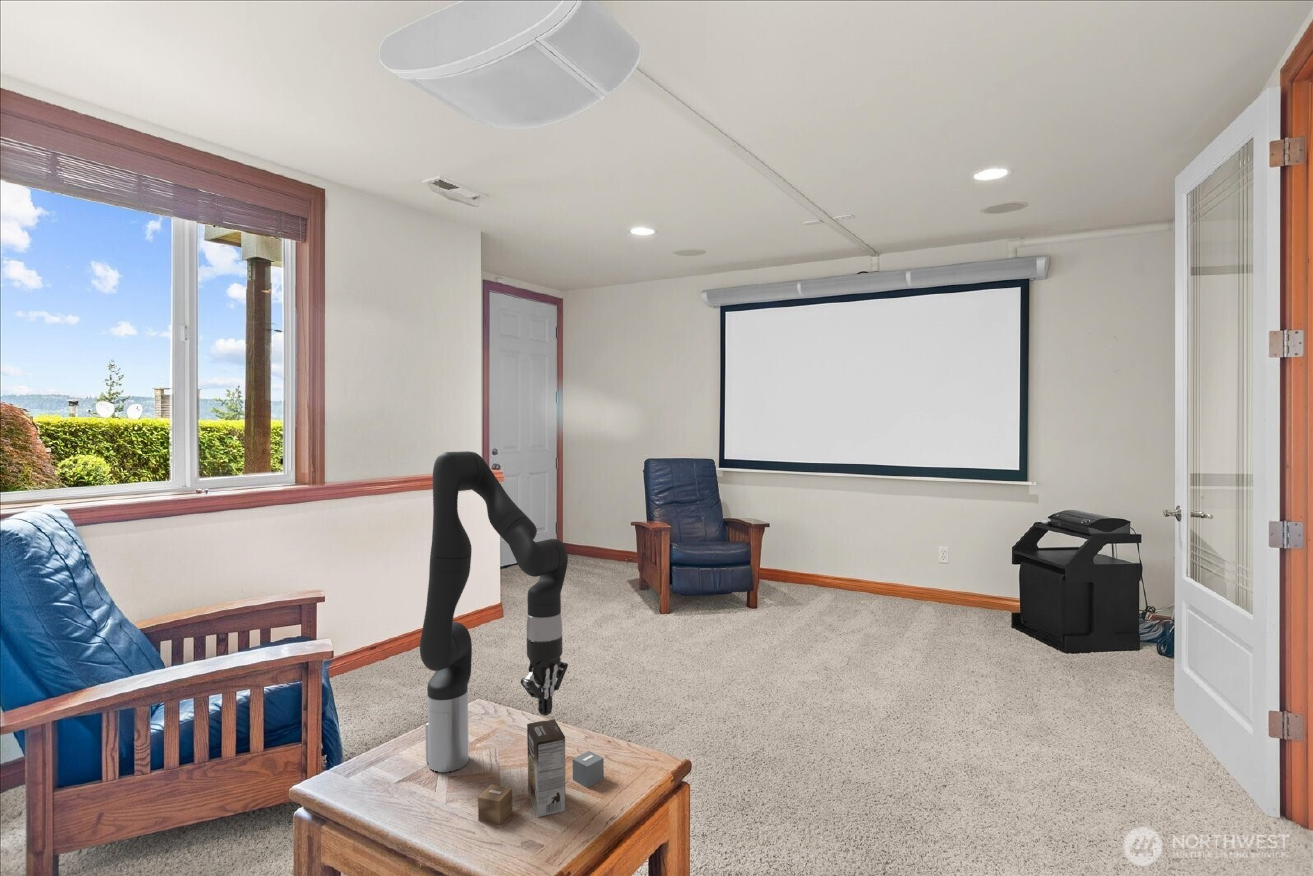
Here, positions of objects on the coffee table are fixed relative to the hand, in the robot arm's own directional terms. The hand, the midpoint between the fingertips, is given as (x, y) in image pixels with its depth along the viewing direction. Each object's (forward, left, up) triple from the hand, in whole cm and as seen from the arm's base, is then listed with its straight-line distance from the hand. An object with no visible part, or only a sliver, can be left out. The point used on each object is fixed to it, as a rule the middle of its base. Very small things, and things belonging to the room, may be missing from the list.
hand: (545, 713), depth 141 cm
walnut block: (-6, -9, -20) cm, 22 cm away
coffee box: (0, 0, -20) cm, 20 cm away
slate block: (+2, +12, -20) cm, 23 cm away
